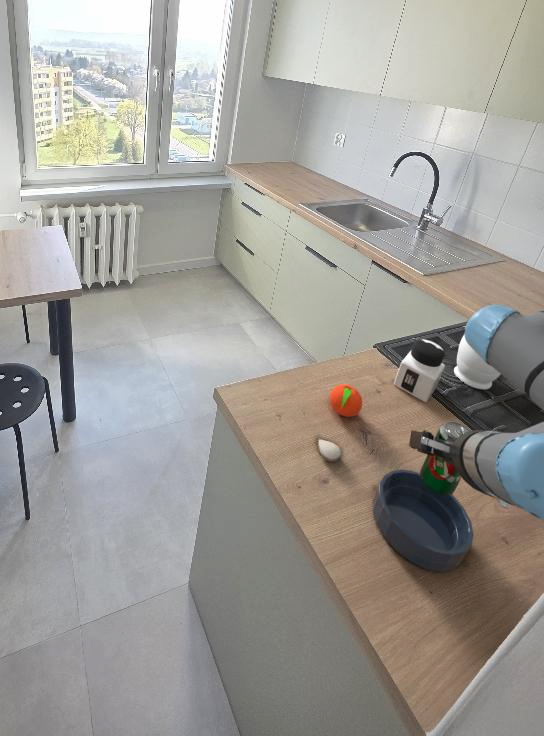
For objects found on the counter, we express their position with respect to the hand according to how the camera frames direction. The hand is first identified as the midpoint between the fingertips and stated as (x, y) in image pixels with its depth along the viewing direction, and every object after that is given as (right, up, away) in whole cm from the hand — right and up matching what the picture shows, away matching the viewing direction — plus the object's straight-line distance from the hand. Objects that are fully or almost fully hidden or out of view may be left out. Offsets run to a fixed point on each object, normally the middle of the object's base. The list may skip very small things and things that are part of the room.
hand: (439, 451), depth 72 cm
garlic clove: (-13, -9, +16) cm, 23 cm away
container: (+17, -2, +35) cm, 39 cm away
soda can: (-2, -5, -2) cm, 5 cm away
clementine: (-6, -5, +26) cm, 27 cm away
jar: (+34, -2, +38) cm, 51 cm away
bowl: (-2, -15, +3) cm, 16 cm away
